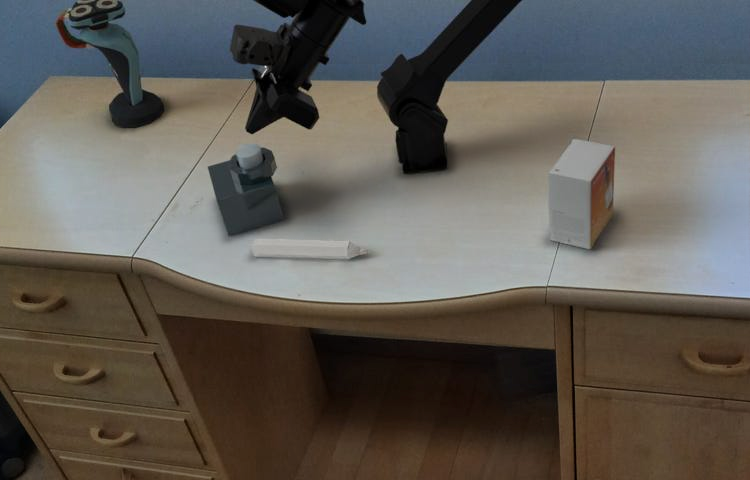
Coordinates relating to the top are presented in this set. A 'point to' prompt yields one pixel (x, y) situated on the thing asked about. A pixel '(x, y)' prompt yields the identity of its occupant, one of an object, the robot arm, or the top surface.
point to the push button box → (246, 194)
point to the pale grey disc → (249, 156)
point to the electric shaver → (113, 58)
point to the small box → (581, 193)
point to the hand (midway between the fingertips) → (248, 131)
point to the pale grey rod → (306, 249)
